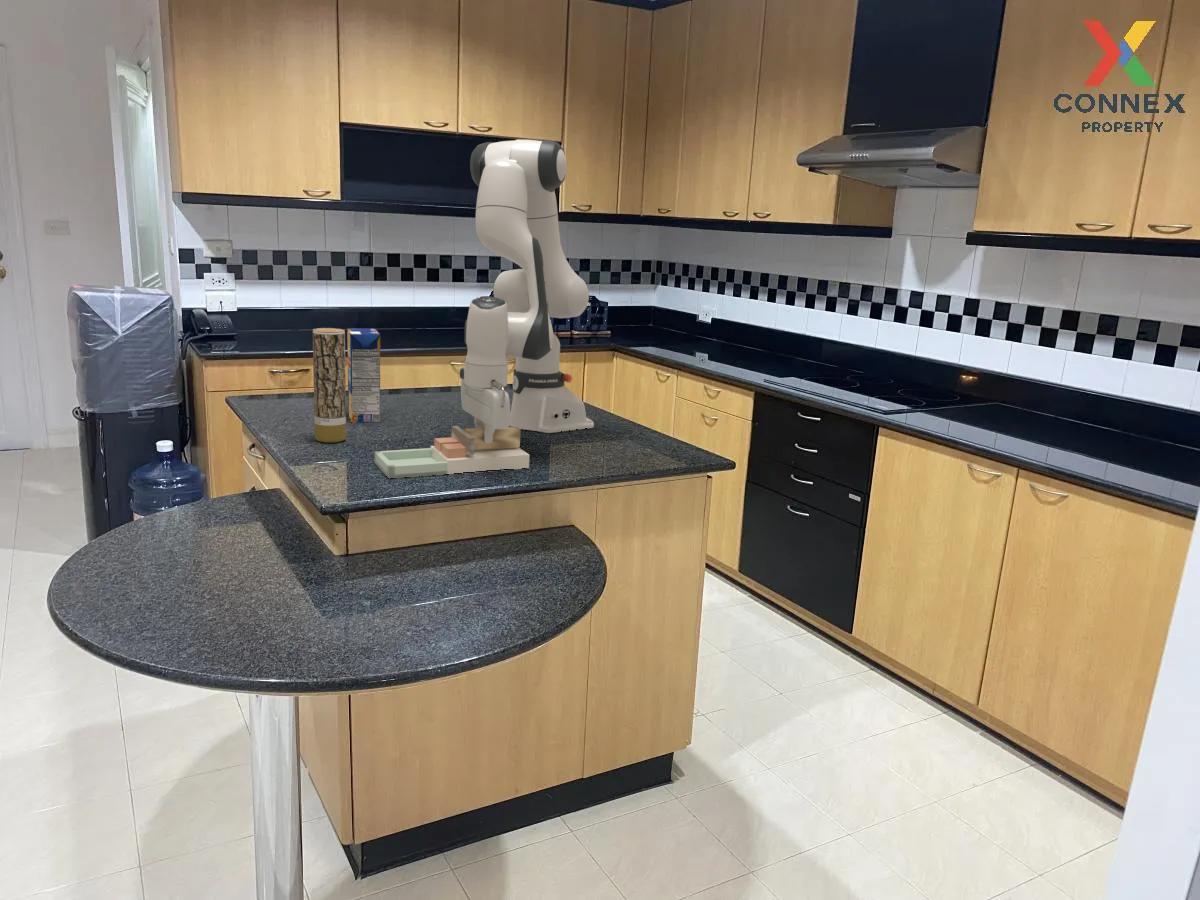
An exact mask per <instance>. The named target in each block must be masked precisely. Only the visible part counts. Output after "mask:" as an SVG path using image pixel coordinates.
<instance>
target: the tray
mask: <svg viewBox="0 0 1200 900" xmlns="http://www.w3.org/2000/svg"><path fill="white" fill-rule="evenodd" d="M373 452H374V457H373V458H374V459H373V460H374V464H375V465H376V467H377V468H378V469H379V470H380V471H381V472H382V473H383V475H384V476H387V477H388V478H389V479H388V478H387V477H386V478H387V479H388V480H391V479H390V478H396V479H405V478H404V477H410V478H420V477H421V476H423V477H433V476H432V475H436V476H445V475H444V474H447V468H448V463H447V462H446V461H443V462H437V461H436V460H435V459H434V458H432V449H431V448H430V447H425V448H424V447H423V448H408V449H398V450H397V449H395V450H379V451H377V450H376V451H373ZM419 476H420V477H419Z"/></svg>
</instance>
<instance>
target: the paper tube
mask: <svg viewBox="0 0 1200 900" xmlns="http://www.w3.org/2000/svg"><path fill="white" fill-rule="evenodd" d="M312 354H313V355H312V360H313V362H312V365H313V367H312V368H313V404H314V405H313V409H314V411H313V414H314V417H313V418H314V420H313V421H314V439H315V440H316V441H317V442H320V443H324V444H335V443H341V442H343V441H345V440H346V438H347V415H346V414H347V406H346V404H347V403H346V401H347V399H346V396H347V395H346V394H347V392H346V389H347V388H346V331H345V329H342V328H335V327H334V328H333V327H319V328H313V329H312Z"/></svg>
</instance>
